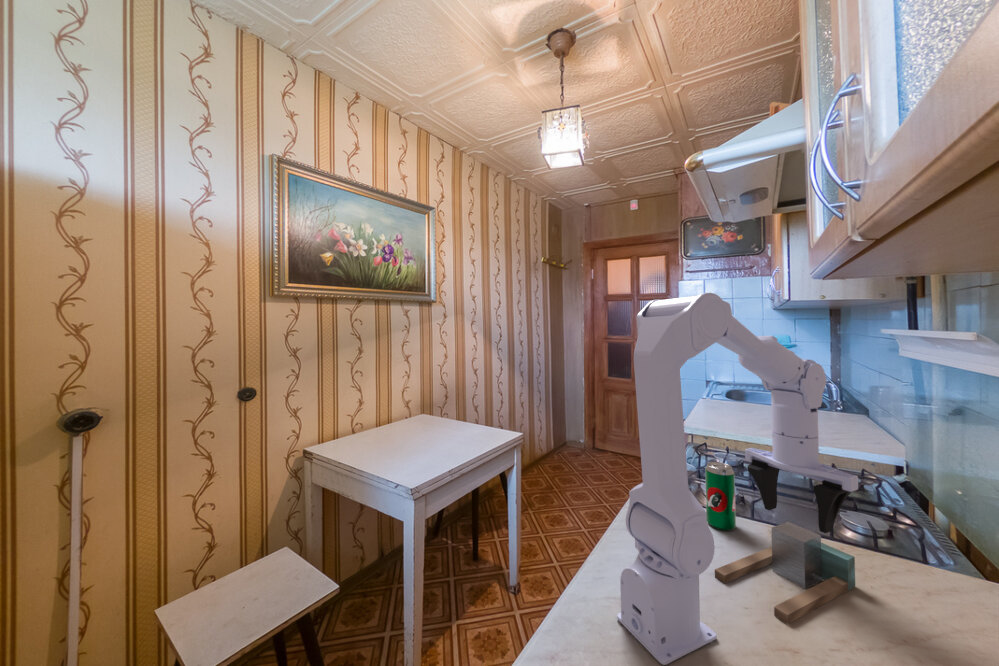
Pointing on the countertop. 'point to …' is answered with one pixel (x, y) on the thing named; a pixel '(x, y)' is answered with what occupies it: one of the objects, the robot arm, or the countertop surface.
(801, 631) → the countertop surface
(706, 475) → the soda can
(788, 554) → the block
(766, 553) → the guide channel
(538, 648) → the countertop surface
